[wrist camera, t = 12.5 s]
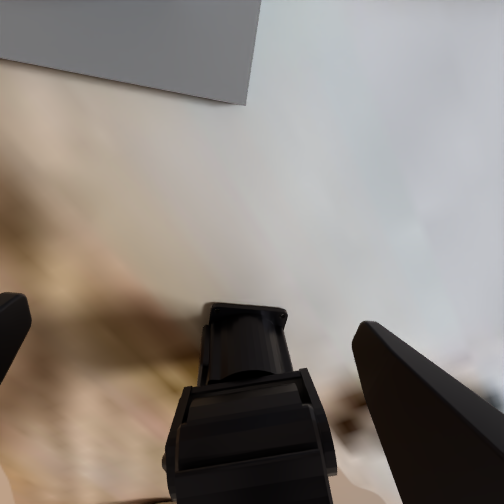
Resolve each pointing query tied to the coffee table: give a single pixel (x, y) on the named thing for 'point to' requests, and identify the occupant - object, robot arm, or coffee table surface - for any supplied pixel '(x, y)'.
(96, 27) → the pin plate
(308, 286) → the coffee table surface
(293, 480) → the robot arm
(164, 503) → the canister
